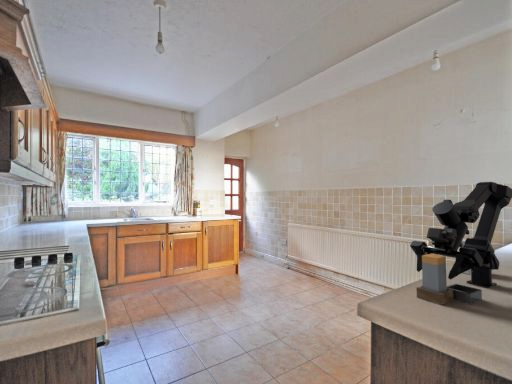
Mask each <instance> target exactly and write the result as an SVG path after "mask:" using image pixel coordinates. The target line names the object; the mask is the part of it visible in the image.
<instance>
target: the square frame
mask: <svg viewBox="0 0 512 384" xmlns="http://www.w3.org/2000/svg"><path fill="white" fill-rule="evenodd" d="M416 298H418V299H422V300H424V301H426V302H427V301H428V302H430V303H434V304H437V305H440V306H442V305H444V304H445V305H446V304H447V303H450V302H453V301H455V300H454V295H453V290H450V289H447V291H445V292H442V293H436V292H433V291H429V290H426V289H423V285H421V286H417V287H416Z"/></svg>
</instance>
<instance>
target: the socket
mask: <svg viewBox="0 0 512 384" xmlns="http://www.w3.org/2000/svg"><path fill="white" fill-rule="evenodd" d="M447 289H450V290H453V295H454V300H453V301H457V302H461V303H464V304H467V305H473V304H475V303H477V302H480V301H482V300H483V292H482V291H483V290H482V289H479V288H476V287H471V286H468V285H463V284H459V283H452V284H450V285H447Z"/></svg>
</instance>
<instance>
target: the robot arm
mask: <svg viewBox="0 0 512 384" xmlns="http://www.w3.org/2000/svg"><path fill="white" fill-rule="evenodd" d="M511 200H512V188H511V187H510V186H508V185H505V184H500V183H496V182H493V181H479V182H477V183H476V184H475V187H474V188H473V189H472V191H471V192H470V193H469V194H468V195H467V196H466V197H465V198H464V199H463V200H461V201H458V202H455V203H453V201H452V200H451V199H443V200H442V201H440V202H438V203H436V204H435V205H433V207H432V212H433V214H434V216H435V217H436V219H437V220H438V222H439V224H440V225H442V226H444V227H443V228H437V227H428V230H427V234H426V239H429V240H431V245H432V246H430V245H429V246H428V244H427V243H426V241H420V240H419V241H418V240H412V241H411V243H410V245H409V246H410V248H411V250H412V252H413V253H414V255H416V272H417V273H418V272H420V271H422V255H427V254H434V255H440V256H446V257H449V258H453V259H455V261H454V263H453V265H452V267H451V269H450V270H449V273H448V276H447V277H448V279H449V280H452V279H454V278H456V277H458V276H460V275H461V274H464V273H463V272H465V271H467V270H470V269H471V274H470V279H469V280H466V283H467V284H471V285H475V286H479V287H484V288H489V289H490V288H492V287H494V286H497V285H498V284H497V283H496V282H493V272H492V271H493V270H500V269H499V268H500V261H499V258H498V257H497V256H496V254H495V249H494V246H493V245H492V240H493V237H494V233H495V230H496V228H497V223H498V220H499V217H500V215H501V211H502V209H504V208H506V207H507V206H508V205H509V204H510V203H511ZM482 205H483V209H482V211H481V214H480V211H479V209H480V208H481V207H482ZM477 220H479V221H478V224H477V227H476V231H475V233H474V235H473V237H471V238H470V237H467V238H466V239H464V237H465V235H470V230H469V227H468V225H467V224H475V223H476V222H477ZM462 240H465V244H464V246H463V244H462V243H461V242H462ZM462 246H463V247H462Z"/></svg>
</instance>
